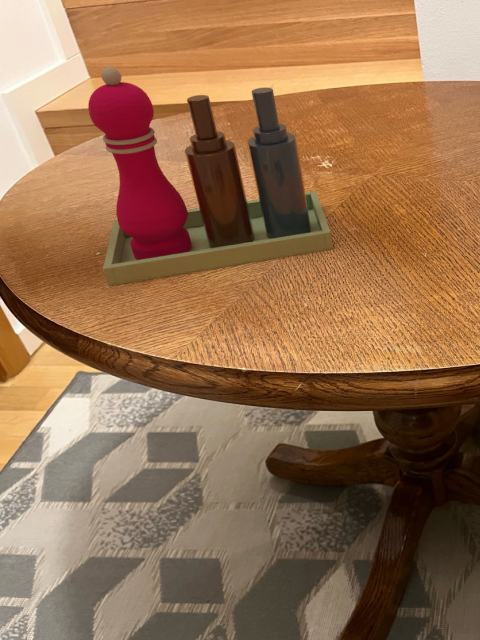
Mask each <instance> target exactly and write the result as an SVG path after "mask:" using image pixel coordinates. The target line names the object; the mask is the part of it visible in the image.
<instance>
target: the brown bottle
mask: <svg viewBox="0 0 480 640" xmlns="http://www.w3.org/2000/svg"><path fill="white" fill-rule="evenodd" d="M186 103H187V106H188V110H189V115H190V118H191V122H192V126H193V130H194V134H193V135H191V136H190V137H189V142H190V145H188V146H187V147H186V148H185V149H184V156H185V159H186V162H187V167H188V171H189V174H190V178H191V183H192V186H193V191H194V192H195V193H194V194H195V198H196V202H197V206H198V208H199V209H200V213H201V217H202V221H203V225H204V229H205V233H206V236H207V240H208V244H209V246H210V247H211V248H217V247H223V246H229V245H236V244H242V243H248V242H253V241H254V239H255V235H254V231H253V226H252V221H251V217H250V212H249V208H248V203H247V201H248V199H247V195H246V189H245V185H244V180H243V176H242V171H241V167H240V162H239V158H238V152H237V149H236V148H237V147H236V144H235V142H234V141H231V140H228V139H226V135H225V133H224V132H223V131H219V130H217V126H216V122H215V117H214V113H213V109H212V104H211V99H210V96H209V95H208V94H207V95H206V94H196V95H192V96H189V97H187V99H186Z"/></svg>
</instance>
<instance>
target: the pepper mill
mask: <svg viewBox="0 0 480 640" xmlns="http://www.w3.org/2000/svg"><path fill="white" fill-rule="evenodd" d="M101 80H102V81H103V83H104V84H103V85H101V86H99V87H97V88H96V89H95V90H94V91H93V92H92V93H91V95H90V97H89V100H88V104H87V105H88V107H87V109H88V115H89V117H90V120H91V122H92V123H93V125H94V126H95V127H96V128H97V129H98V130H100V131H102V133H104V135H103V136H102V141H103V142H104V143H105V150H106V151H107V152H109V153H111V154H112V156H113V158H114V161H115V164H116V166H117V170H118V176H119V187H118V194H117V200H116V204H115V205H116V207H115V208H116V209H115V210H116V212H115V213H116V220H118V224H119V226H120V228H121V230H122V231H123V232H124V233H126V234H127V235H129V236H130V237H132V238H133V239H132V240H131V242H130V245H131V248H132V251H133V254H134V257H135V259H136V260H142V259H148V258H154V257H161V256H167V255H173V254H179V253H186V252H189V251H190V250H191V247H192V243H191V239H190V236H189V232H188V231H187V230H186V229H185V228H183V226H184V225H185V223H186V221H187V217H188V211H187V210H188V208H187V205H186V203H185V200H184V199H183V197H182V196H181V194H180V192H179V191H178V190H177V189H176V188H175V186H174V185H173V184H172V183H171V182H170V180H168V178H167V177H166V175H165V174H164V172H163V171H162V169H161V167H160V165H159V161H158V159H157V156H156V150H155V146H156V144H157V143H158V139H157V137H156V136H155V134H156V133H155V130H154V128H152V127H150V125H151V123H152V121H153V119H154V114H155V110H154V106H153V103H152V101H151V99H150V97H149V95H148V94H147V92H146V91H145V90H143V89H142V88H141V87H140V86H138V85H135V84H134V83H131V82H124V81H122V74H121V72H120V71H119V70H118V69H117V68H115V67H113V66H107V67H105V68H104V69H102V71H101Z"/></svg>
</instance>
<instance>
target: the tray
mask: <svg viewBox="0 0 480 640" xmlns="http://www.w3.org/2000/svg"><path fill="white" fill-rule="evenodd" d="M305 195H306V201H307V207H308V213H309V219H310V225H311V231H310V233H304V234H298V235H292V236H285V237H279V238H273V239H269V238H268V237H267V236H266V231H265V227H264V222H263V217H262V212H261V207H260V203H259V198H258V199H252V200H247V203H248V208H249V212H250V217H251V221H252V226H253V231H254V235H255V239H254V241H253V242H248V243H242V244H236V245H229V246H223V247H217V248H211V247H210V246H209V244H208V240H207V236H206V233H205V229H204V225H203V221H202V217H201V213H200V209H199V207H197V208H191V209H190V208H189V209H187V211H188V217H187V221H186V223H185V225H184V226H183V228H185V229H186V230H187V231H188V232H189V236H190V239H191V243H192V247H191V250H190V251H189V252H186V253H179V254H173V255H167V256H161V257H154V258H148V259H142V260H136V259H135V257H134V254H133V251H132V248H131V245H130V242H131V240H132V239H133V238H132V237H130V236H129V235H127V234H126V233H124V232H123V231H122V230H121V228H120V226H119V224H118V219H116V220H113V224H112V228H111V233H110V236H109V241H108V245H107V249H106V254H105V259H104V261H103V262H104V263H103V267H102V271H103V273H104V277H105V279H106V282H107V285H108V287H113V286H120V285H125V284H130V283H137V282H141V281H142V282H144V281H148V280H154V279H161V278H167V277H172V276H180V275H184V274H185V275H186V274H191V273H196V272H203V271H208V270H215V269H220V268H221V269H222V268H228V267H233V266H239V265H245V264H246V265H247V264H251V263H257V262H263V261H267V260H268V261H269V260H274V259H281V258H287V257H293V256H294V257H295V256H300V255H305V254H311V253H319V252H324V251H330V250H334V244H333V238H332V231H331V228H330V226H329V222H328V220H327V218H326V214H325V212H324V209H323V207H322V204H321V200H320V198H319V195H318V192H317V190H312V191H305Z"/></svg>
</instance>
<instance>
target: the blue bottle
mask: <svg viewBox="0 0 480 640" xmlns="http://www.w3.org/2000/svg"><path fill="white" fill-rule="evenodd" d="M251 96H252V101H253V106H254V110H255V112H254V113H255V116H256V122H257V125H256V126H255V127H254V128H252V137H249V139H247V141H246V145H247V150H248V154H249V159H250V164H251V169H252V175H253V178H254V182H255V183H254V184H255V187H256V192H257V197H258V199H259V203H260V207H261V212H262V217H263V222H264V227H265V231H266V236H267V237H268V238H269V239H273V238H279V237H285V236H292V235H298V234H304V233H310V231H311V225H310V219H309V213H308V207H307V201H306V195H305V192H306V189H305V184H304V178H303V172H302V166H301V161H300V154H299V148H298V143H297V137H296V135H295V134H294V133H292V132H289V131H288V129H287V125H286V124H284V123H280V121H279V116H278V109H277V104H276V99H275V94H274V89H273V88H272V87H257V88H254V89H252V90H251Z"/></svg>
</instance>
